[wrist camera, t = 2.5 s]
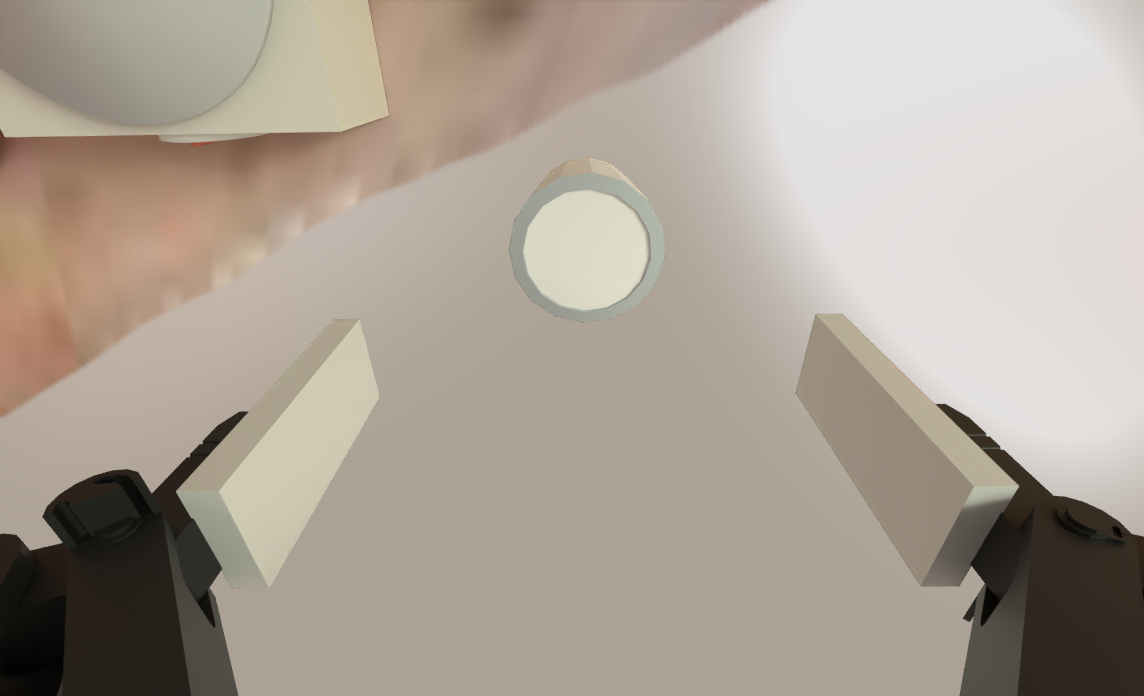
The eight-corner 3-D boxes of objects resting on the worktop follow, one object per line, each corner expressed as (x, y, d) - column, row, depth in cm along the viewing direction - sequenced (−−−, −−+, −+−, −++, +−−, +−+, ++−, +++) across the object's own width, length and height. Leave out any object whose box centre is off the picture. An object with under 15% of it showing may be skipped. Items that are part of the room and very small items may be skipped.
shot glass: (505, 239, 29) (486, 288, 23) (554, 121, 26) (546, 142, 20) (611, 286, 30) (619, 345, 24) (670, 180, 27) (696, 217, 21)
